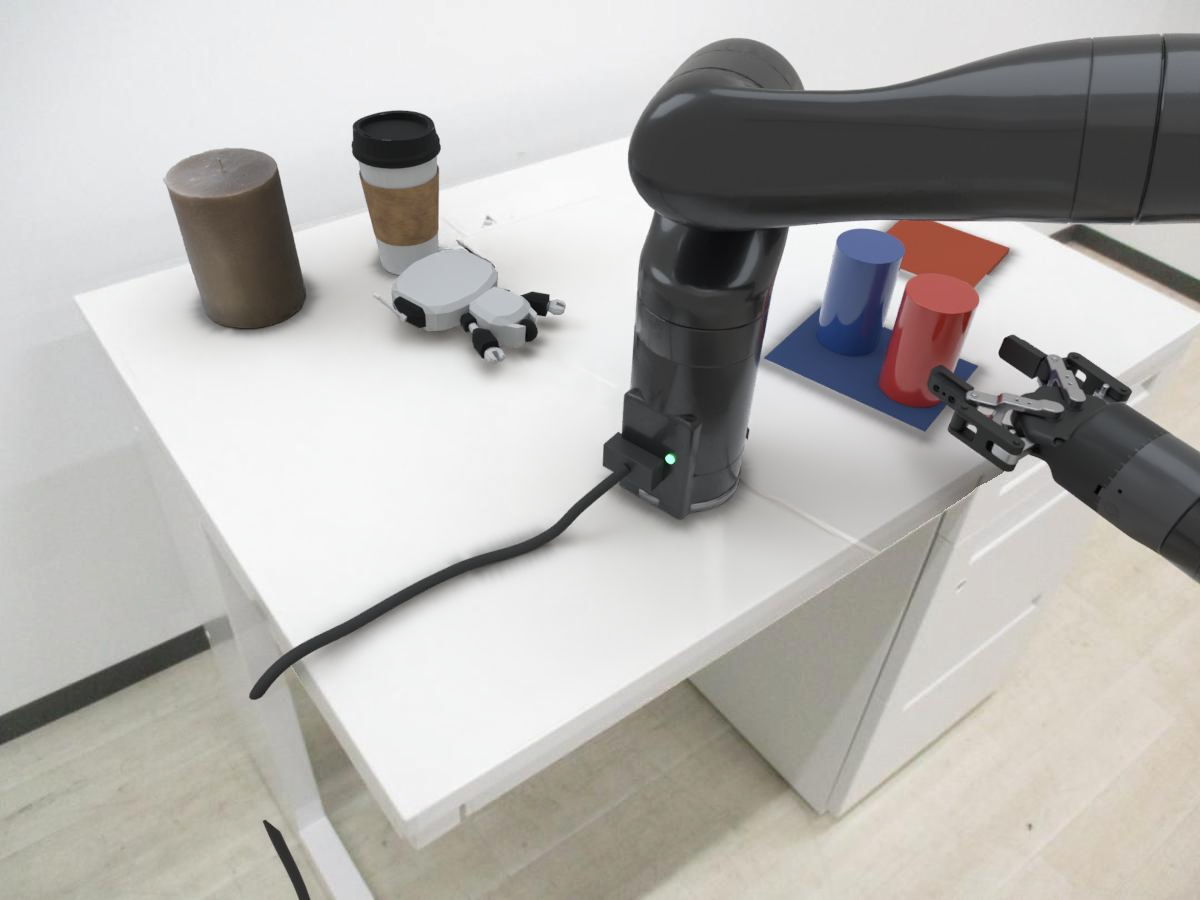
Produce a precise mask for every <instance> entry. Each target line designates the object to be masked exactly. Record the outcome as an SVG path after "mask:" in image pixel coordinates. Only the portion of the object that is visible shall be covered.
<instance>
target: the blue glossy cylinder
mask: <svg viewBox="0 0 1200 900" xmlns="http://www.w3.org/2000/svg"><path fill="white" fill-rule="evenodd" d="M832 253H833V254H832V258H831V262H830V267H829V271H828V276H827V280H826V285H825V287H824V288H825V289H824V293H823V298H822V302H821V306H820V307H821V311H820V315H819V319H818V324H817V328H816V337H817V340H818V341H819V342H820V344H821V345H822V346H824V347H825V348H827V349H828V350H830V351H832V352H835V353H838V354H841V355H846V356H863V355H867V354H870V353H872V352H873V351H875V350H876V349H877V347H878V345H879V342H880V339H881V335H882V331H883V328H884V327H885V324H886V321H887V317H888V313H889V310H890V307H891V303H892V299H893V297H894V292H895V289H896V286H897V281H898V279H899V275H900V272H901V269H900V268H901V265H902V261H903V258H904V254H905V248H904V245H903V244H902V243H901V242H900V241H899V240H898V239H897V238H895V237H894V236H892V235H890V234H888V233H886V232H885V231H882V230H878V229H872V228H852V229H848V230H845V231H843V232H842V233H840V234H839V235H838V236H837V238H836V240H835V245H834V249H833V252H832Z"/></svg>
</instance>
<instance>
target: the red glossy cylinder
mask: <svg viewBox="0 0 1200 900" xmlns="http://www.w3.org/2000/svg"><path fill="white" fill-rule="evenodd" d="M979 304H980V295H979V293H978V292H977V290H976V289H975V287H974V288H973V287H972V286H970V285H969V284H967V283H966V282H964V281H962V280H960V279H958V278H955V277H952V276H948V275H943V274H934V273H929V274H921V275H915V276H912V277H910V278H909V279H908V281H907V282H906V283H905V286H904V289H903V292H902V296H901V299H900V303H899V307H898V309H897V313H896V317H895V320H894V323H893V326H892V327H893V328H892V329H891V330H892V333H891V337H890V340H889V344H888V347H887V350H886V354H885V357H884V361H883V364H882V367H881V371H880V374H879V378H878V383H879V387H880V389H881V390H882V392H883V393H884V394H885V395H886V396H888V397H889V398H890V399H892V400H893V401H895V402H897V403H900V404H903V405H906V406H910V407H917V408H925V407H932V406H935V405H937V404H939V403H940V402H942V401H941V400H940V399H938V398H937V396H934V395H933V394H932V393H931V392H930V391H929V389H928V386H927V381H928V378H929V375H930V372H931V369H932V368H934V367H936V366H938V365H943V366H944V367H946V368H947V369H949V370H950V371H951V372H953V373H954V371H955V368H956V366H957V363H958V360H959V358H960V357H961V355H962V351H963V348H964V346H965V343H966V341H967V337H968V335H969V332H970V329H971V327H972V324H973V321H974V318H975V317H976V316H975V315H976V313H977V310H978V307H979Z"/></svg>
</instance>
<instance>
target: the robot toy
mask: <svg viewBox="0 0 1200 900" xmlns="http://www.w3.org/2000/svg"><path fill="white" fill-rule="evenodd" d="M455 240H456V243H457V245H459V246H460V248H451V249H450V248H449V249H448V248H447V249H444V250H441V251H438V252H437V253H434V254H431V255H429V256H427V257H425V258H423V259H420V260H418V261H416V262H415V263H413V264H412V265H410V266H409V267H408V268H407V269H406V270H405V271H403V272H402V273H401V274H400V275H397V277H396V278H395V280H394V281H393V282H392V285H391V290H390V292H391V302H392V303H391V304H392V305H391V304H390V303H388V302H387V301H385V300H384V299H383V297H381V295H380V294H378V293H377V292H371V294H372V297H373V298H374V299H375V300H376V301H379V302H380V303H381V304H382V305H384V306H385V307H386V308H387V309H388V310H390V311H391V312H392V313H393V314H394V315H395V316H397V317H398V319H399V320H400V322H402V323H408V324H410V325H412V326H414V327H416V328H417V329H422V330H424V331H427V332H442V331H443V332H445V331H448V330H450V329H453V328H456V327H458V326H461V328H462V329H463V330H464V332H466V333H471V343H472V345H473V346H472V347H473V349H474V350H475V351H476V352H477V354H478V355H479V356H480V358H481V359H483V360H485V361H486V362H487V363H489V364H490V365H494V364H497V363H498V362H499V363H501V362H503V361H504V360H505V358H506V355H505V352H504V350H503V349H502V348H500V347H505V346H506V347H510V348H514V349H518V348H522V347H525V346H526V343H530V342H534V340H536V339H537V337H538V334H539V330H538V329H539V328H538V327H537V322H538V321H537V320H538V319H537V318H538V316H539V317H546V318H547V315H548V313H550V314H552V315H553V316H561V315H563V314H564V313H565V310H566V308H567V307H566V306H567V304H566V302H565V301H564V300H561V299H559V298H558V299H552V300H550V294H549V293H544V292H538V291H533V290H532V291H529V292H526V293H523V294H521V295H520V294H517V293H515V292H512V291H511V290H510V289H505V288H500V287H498V285H499V283H498V282H499V281H498V280H499V275H498V274H499V272H498V270H497V269H496V266H495V264H493V262H492V261H490V260H488V259H487V258H486V257H482V256H481V255H479V254H478V253H477V252H476V251H475V250H473V249H471V248H470V247H469V246H468V245H467V244H465V243H464V241H463V240H461V239H455ZM461 247H462V248H461ZM497 361H498V362H497Z"/></svg>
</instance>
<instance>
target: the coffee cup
mask: <svg viewBox="0 0 1200 900" xmlns="http://www.w3.org/2000/svg"><path fill="white" fill-rule="evenodd" d="M441 150H442V145H441V139H440V137H439V134H438V133H437V130H436V125H435V122H434V120H433V119H432V118H431V117H430V116H428V115H426V114H424V113H422V112H417V111H412V110H405V109H404V110H401V109H400V110H399V109H397V110H396V109H395V110H386V111H380V112H375V113H372V114H368V115H365V116H363V117H361V118H359V119H357V120H355V122H353V124H352V141H351V154H352V156H353V158H354V159H355V160H357V162H358V166H359V170H358V175H359V179H360V183H361V188H362V191H363V195H364V199H365V203H366V207H367V211H368V215H369V218H370V223H371V226H372V230H373V231H372V232H373V234H374V237H375V241H376V245H377V249H378V250H377V251H378V255H379V258H380V262H381V265H382V267H383V269H384V270H386V271H387V272H389V273H390V274H393V275H395V276H396V275H397V276H399V275H400V274H401V273H402V272H403V271H405V270H406V269H407V268H408V267H409V266H410V265H412V264H413V263H415V262H416V261H418V260H420V259H423V258H425V257H427V256H429V255H431V254H434V253H437V252H439V227H440V226H439V222H440V221H439V220H440V218H439V217H440V216H439V214H440V212H439V211H440V166H439V164H438V155H440V152H441Z"/></svg>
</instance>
